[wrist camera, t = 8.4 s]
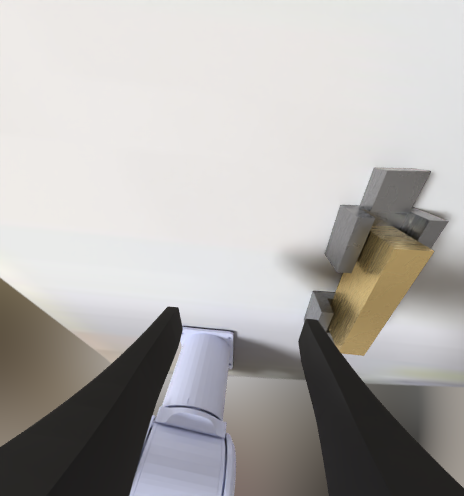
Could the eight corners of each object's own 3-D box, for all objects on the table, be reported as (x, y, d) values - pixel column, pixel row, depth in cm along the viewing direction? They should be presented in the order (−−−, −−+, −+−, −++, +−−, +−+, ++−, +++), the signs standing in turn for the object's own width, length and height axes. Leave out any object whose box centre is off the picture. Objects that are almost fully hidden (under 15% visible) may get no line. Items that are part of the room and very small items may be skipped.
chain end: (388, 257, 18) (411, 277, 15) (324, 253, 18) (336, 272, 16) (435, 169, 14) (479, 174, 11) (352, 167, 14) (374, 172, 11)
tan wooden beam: (345, 320, 21) (363, 355, 18) (324, 319, 21) (338, 353, 18) (392, 226, 15) (434, 251, 12) (362, 225, 15) (394, 249, 12)
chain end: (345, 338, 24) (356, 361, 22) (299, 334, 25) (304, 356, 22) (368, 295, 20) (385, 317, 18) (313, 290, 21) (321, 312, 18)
